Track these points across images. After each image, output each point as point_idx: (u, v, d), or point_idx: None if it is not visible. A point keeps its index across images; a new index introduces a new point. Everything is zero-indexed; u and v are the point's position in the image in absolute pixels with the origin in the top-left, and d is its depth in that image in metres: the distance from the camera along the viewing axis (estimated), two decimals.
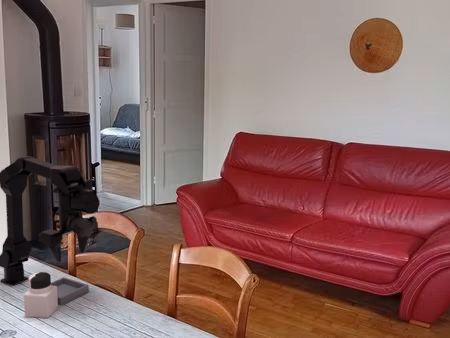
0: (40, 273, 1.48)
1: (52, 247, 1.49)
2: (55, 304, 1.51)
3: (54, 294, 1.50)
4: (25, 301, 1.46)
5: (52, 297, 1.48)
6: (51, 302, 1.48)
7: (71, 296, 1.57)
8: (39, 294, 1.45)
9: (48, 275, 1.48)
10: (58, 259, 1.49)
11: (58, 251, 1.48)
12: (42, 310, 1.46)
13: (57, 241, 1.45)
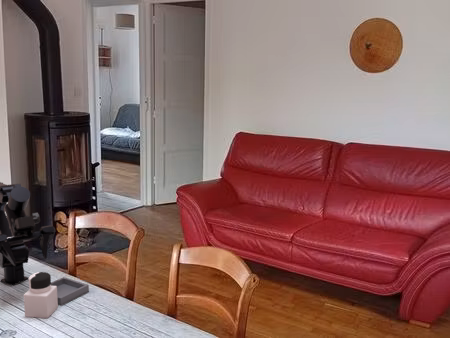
0: (40, 273, 1.48)
1: (6, 253, 1.52)
2: (55, 304, 1.51)
3: (54, 294, 1.50)
4: (25, 301, 1.46)
5: (52, 298, 1.48)
6: (51, 302, 1.48)
7: (71, 296, 1.57)
8: (39, 294, 1.45)
9: (48, 275, 1.48)
10: (13, 262, 1.50)
11: (8, 252, 1.50)
12: (42, 310, 1.46)
13: (0, 239, 1.50)
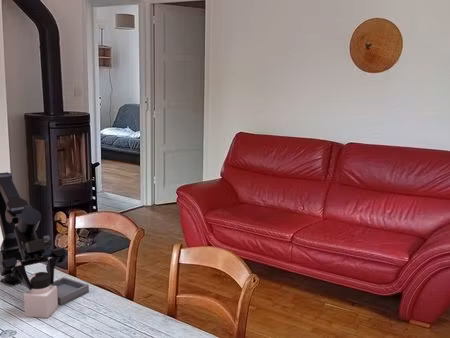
0: (40, 273, 1.48)
1: (21, 277, 1.47)
2: (55, 304, 1.51)
3: (54, 294, 1.50)
4: (25, 301, 1.46)
5: (52, 297, 1.48)
6: (51, 302, 1.48)
7: (71, 296, 1.57)
8: (39, 294, 1.45)
9: (48, 275, 1.48)
10: (28, 286, 1.45)
11: (24, 276, 1.45)
12: (42, 309, 1.46)
13: (10, 264, 1.43)
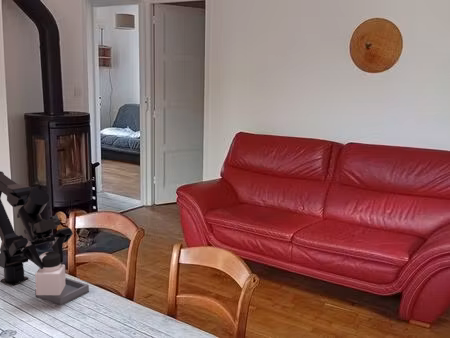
0: (50, 252, 1.52)
1: (31, 257, 1.50)
2: (64, 282, 1.55)
3: (63, 272, 1.54)
4: (37, 280, 1.49)
5: (62, 275, 1.53)
6: (62, 280, 1.52)
7: (71, 296, 1.57)
8: (51, 272, 1.49)
9: (58, 254, 1.52)
10: (40, 265, 1.48)
11: (35, 256, 1.48)
12: (54, 287, 1.50)
13: (22, 244, 1.46)
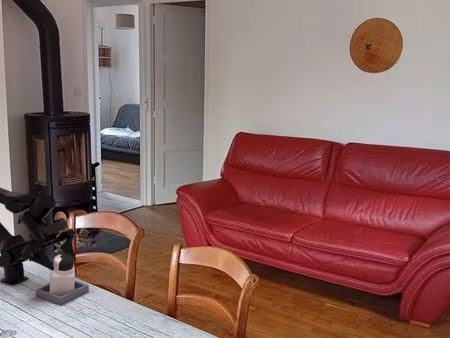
0: (63, 255, 1.58)
1: (40, 260, 1.55)
2: None
3: None
4: (52, 282, 1.55)
5: None
6: None
7: (71, 296, 1.57)
8: (67, 275, 1.57)
9: (72, 257, 1.59)
10: (51, 267, 1.54)
11: (46, 259, 1.54)
12: (68, 288, 1.58)
13: (37, 247, 1.52)
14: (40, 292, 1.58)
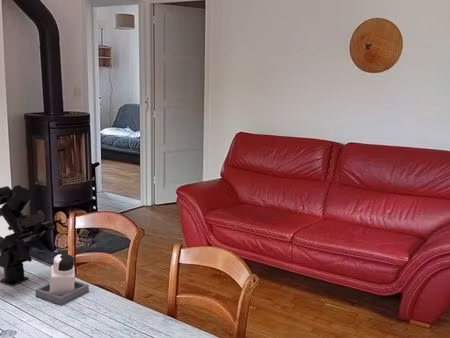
0: (63, 255, 1.58)
1: (18, 252, 1.59)
2: None
3: None
4: (52, 282, 1.55)
5: None
6: None
7: (71, 296, 1.57)
8: (67, 275, 1.57)
9: (72, 257, 1.59)
10: (28, 258, 1.58)
11: (23, 250, 1.58)
12: (68, 288, 1.58)
13: (14, 238, 1.56)
14: (40, 292, 1.58)
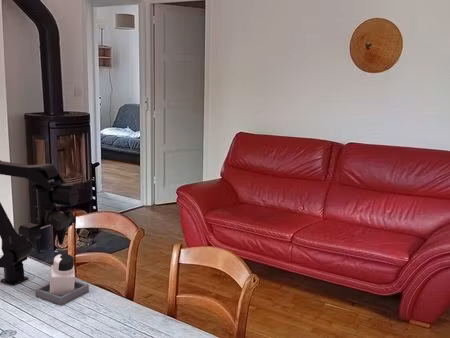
0: (63, 255, 1.58)
1: (31, 239, 1.59)
2: None
3: None
4: (52, 282, 1.55)
5: None
6: None
7: (71, 296, 1.57)
8: (67, 275, 1.57)
9: (72, 257, 1.59)
10: (37, 251, 1.60)
11: (37, 243, 1.59)
12: (68, 288, 1.58)
13: (35, 234, 1.56)
14: (40, 292, 1.58)
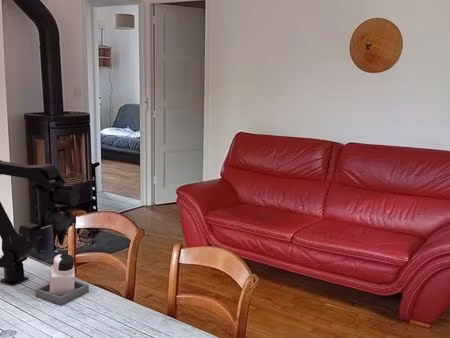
0: (63, 255, 1.58)
1: (32, 240, 1.59)
2: None
3: None
4: (52, 282, 1.55)
5: None
6: None
7: (71, 296, 1.57)
8: (67, 275, 1.57)
9: (72, 257, 1.59)
10: (37, 251, 1.60)
11: (37, 243, 1.59)
12: (68, 288, 1.58)
13: (36, 234, 1.56)
14: (40, 292, 1.58)
